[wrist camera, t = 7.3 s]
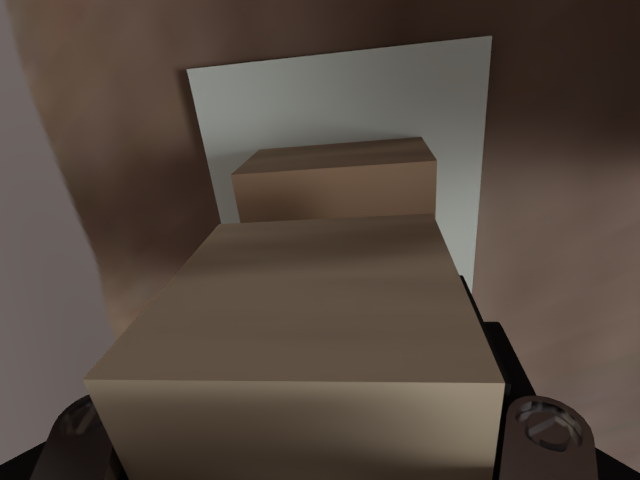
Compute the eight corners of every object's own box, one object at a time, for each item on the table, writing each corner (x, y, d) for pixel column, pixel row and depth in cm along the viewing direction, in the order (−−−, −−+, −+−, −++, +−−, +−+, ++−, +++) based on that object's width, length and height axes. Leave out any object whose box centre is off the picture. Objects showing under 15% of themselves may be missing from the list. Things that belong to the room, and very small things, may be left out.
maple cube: (219, 224, 11) (82, 380, 6) (432, 213, 10) (504, 383, 5) (254, 380, 14) (180, 591, 8) (428, 381, 13) (473, 617, 7)
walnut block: (259, 149, 17) (230, 174, 14) (421, 136, 16) (437, 160, 13) (281, 284, 20) (262, 334, 16) (419, 280, 19) (432, 333, 16)
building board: (192, 68, 17) (186, 69, 16) (487, 36, 15) (492, 35, 14) (249, 331, 22) (246, 338, 22) (465, 329, 21) (468, 337, 20)
